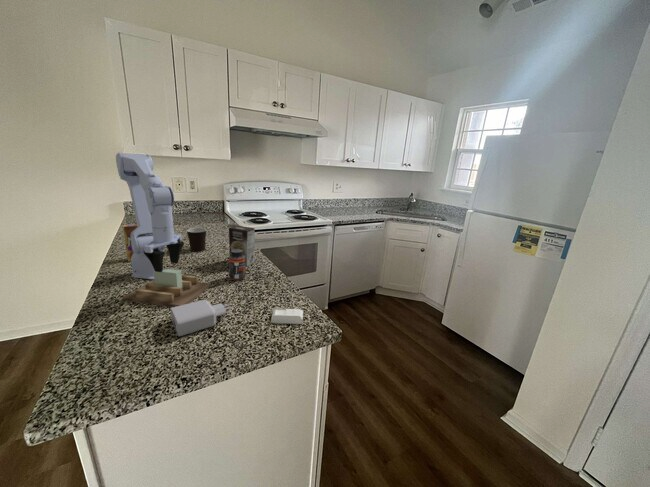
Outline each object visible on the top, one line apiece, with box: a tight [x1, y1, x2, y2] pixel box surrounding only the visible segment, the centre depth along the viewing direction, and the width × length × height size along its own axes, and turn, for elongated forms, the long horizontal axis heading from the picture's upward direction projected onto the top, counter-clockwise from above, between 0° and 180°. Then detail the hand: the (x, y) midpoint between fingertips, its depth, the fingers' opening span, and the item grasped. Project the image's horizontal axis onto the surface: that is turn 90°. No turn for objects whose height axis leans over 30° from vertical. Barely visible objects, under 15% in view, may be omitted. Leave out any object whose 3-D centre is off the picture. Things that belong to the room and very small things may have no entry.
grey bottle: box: [170, 299, 232, 337], centre depth 76 cm, size 5×9×15 cm
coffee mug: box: [186, 227, 207, 253], centre depth 132 cm, size 12×9×10 cm
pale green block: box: [153, 267, 183, 290], centre depth 89 cm, size 8×2×7 cm, turn 83°
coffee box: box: [228, 225, 256, 267], centre depth 118 cm, size 9×6×16 cm
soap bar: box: [270, 307, 304, 325], centre depth 80 cm, size 5×9×3 cm, turn 93°
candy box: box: [122, 223, 151, 262], centre depth 114 cm, size 9×4×15 cm, turn 126°
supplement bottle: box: [228, 249, 246, 282], centre depth 103 cm, size 6×6×11 cm
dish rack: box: [121, 274, 212, 308], centre depth 90 cm, size 20×16×4 cm
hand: (167, 266), depth 88 cm, fingers open, 7 cm apart
